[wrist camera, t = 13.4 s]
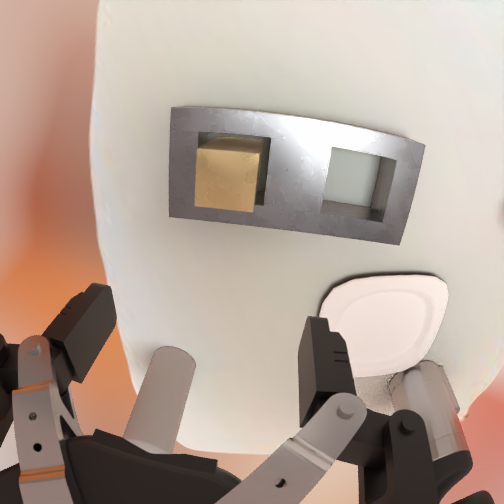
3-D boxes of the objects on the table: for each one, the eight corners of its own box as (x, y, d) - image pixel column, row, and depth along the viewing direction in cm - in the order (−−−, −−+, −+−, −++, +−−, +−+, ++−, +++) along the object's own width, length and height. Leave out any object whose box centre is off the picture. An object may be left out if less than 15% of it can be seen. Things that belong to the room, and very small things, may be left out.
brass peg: (263, 139, 27) (259, 154, 20) (258, 183, 29) (252, 212, 22) (217, 135, 27) (197, 148, 20) (214, 178, 29) (194, 206, 22)
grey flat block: (407, 138, 26) (425, 144, 22) (386, 228, 30) (399, 245, 27) (184, 106, 26) (171, 107, 23) (181, 202, 31) (169, 216, 27)
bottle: (147, 346, 42) (81, 517, 17) (188, 346, 41) (135, 537, 16) (162, 374, 45) (112, 531, 20) (200, 375, 44) (161, 546, 19)
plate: (309, 372, 42) (310, 381, 41) (319, 270, 34) (321, 278, 32) (418, 363, 41) (421, 370, 39) (453, 266, 32) (459, 273, 31)
